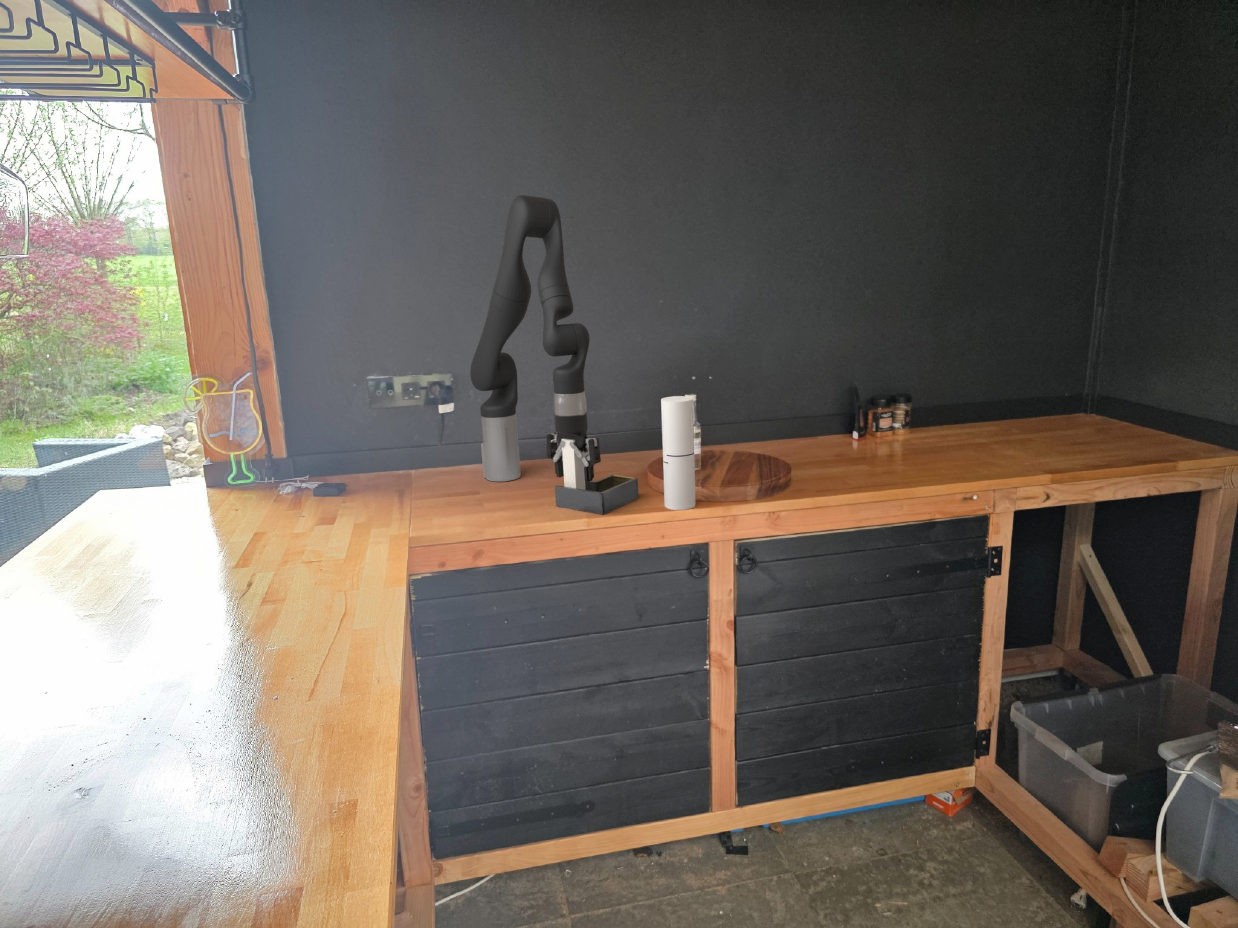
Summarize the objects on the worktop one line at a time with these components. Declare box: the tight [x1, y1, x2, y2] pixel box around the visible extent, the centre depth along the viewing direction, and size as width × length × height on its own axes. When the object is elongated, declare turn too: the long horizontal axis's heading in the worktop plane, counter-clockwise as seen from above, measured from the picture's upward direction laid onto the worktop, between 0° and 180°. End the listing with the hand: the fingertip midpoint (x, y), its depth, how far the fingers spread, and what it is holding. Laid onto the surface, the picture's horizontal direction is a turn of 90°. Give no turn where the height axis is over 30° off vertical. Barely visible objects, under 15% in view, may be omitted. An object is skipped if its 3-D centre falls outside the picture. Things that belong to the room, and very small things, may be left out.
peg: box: [562, 439, 586, 490], centre depth 198 cm, size 4×4×16 cm
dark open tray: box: [554, 474, 640, 516], centre depth 200 cm, size 14×14×5 cm
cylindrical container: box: [660, 395, 696, 511], centre depth 192 cm, size 7×7×25 cm
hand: (574, 478), depth 198 cm, fingers open, 8 cm apart
